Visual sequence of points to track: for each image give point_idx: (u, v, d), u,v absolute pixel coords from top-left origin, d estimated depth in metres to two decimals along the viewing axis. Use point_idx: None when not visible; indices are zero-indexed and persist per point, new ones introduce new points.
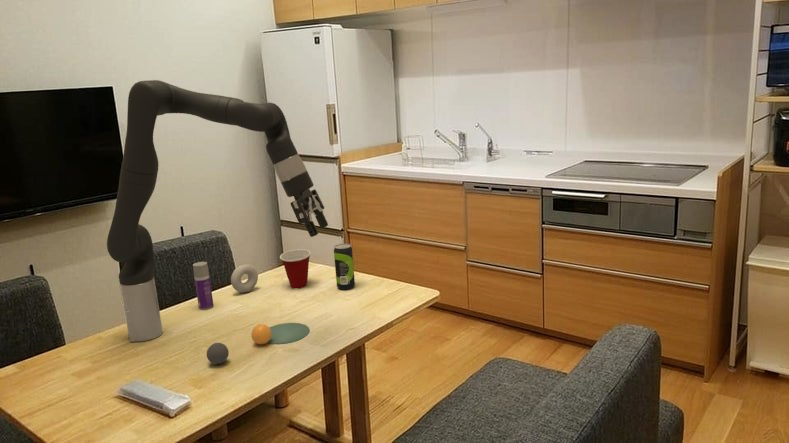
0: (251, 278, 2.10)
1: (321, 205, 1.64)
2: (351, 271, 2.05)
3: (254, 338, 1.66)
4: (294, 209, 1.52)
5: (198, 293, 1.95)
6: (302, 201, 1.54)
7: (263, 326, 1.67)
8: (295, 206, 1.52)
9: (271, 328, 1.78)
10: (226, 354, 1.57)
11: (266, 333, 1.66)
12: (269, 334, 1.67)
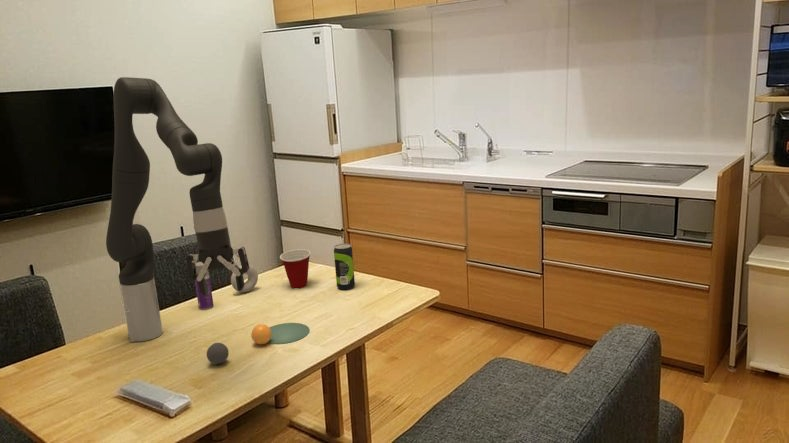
0: (251, 278, 2.10)
1: (241, 268, 1.45)
2: (351, 271, 2.05)
3: (254, 338, 1.66)
4: None
5: (198, 293, 1.95)
6: (199, 258, 1.45)
7: (263, 326, 1.67)
8: None
9: (271, 328, 1.78)
10: (226, 354, 1.57)
11: (266, 333, 1.66)
12: (269, 334, 1.67)
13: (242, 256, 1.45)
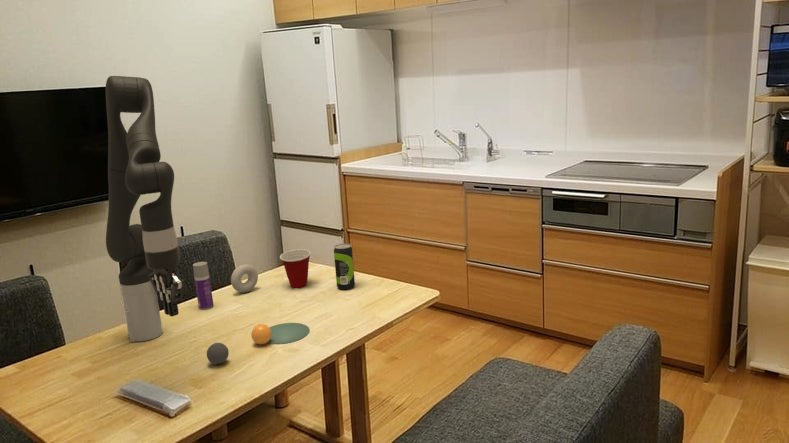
0: (251, 278, 2.10)
1: (170, 295, 1.43)
2: (351, 271, 2.05)
3: (254, 338, 1.66)
4: None
5: (198, 293, 1.95)
6: None
7: (263, 326, 1.67)
8: None
9: (271, 328, 1.78)
10: (226, 354, 1.57)
11: (266, 333, 1.66)
12: (269, 334, 1.67)
13: (173, 289, 1.42)
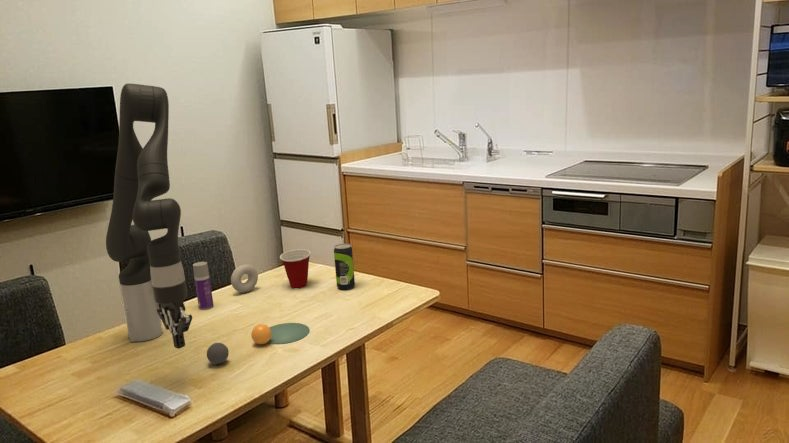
0: (251, 278, 2.10)
1: (177, 328, 1.46)
2: (351, 271, 2.05)
3: (254, 338, 1.66)
4: None
5: (198, 293, 1.95)
6: None
7: (263, 326, 1.67)
8: None
9: (271, 328, 1.78)
10: (226, 354, 1.57)
11: (266, 333, 1.66)
12: (269, 334, 1.67)
13: (181, 324, 1.44)
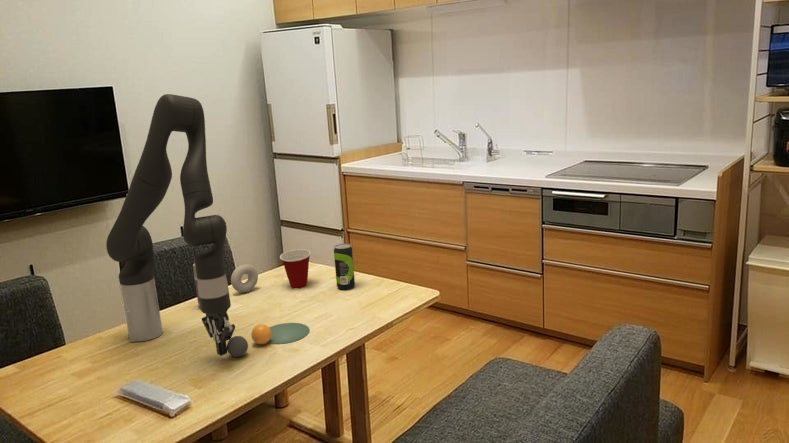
0: (251, 278, 2.10)
1: (220, 337, 1.56)
2: (351, 271, 2.05)
3: (254, 338, 1.66)
4: None
5: None
6: None
7: (263, 326, 1.67)
8: None
9: (271, 328, 1.78)
10: (242, 353, 1.60)
11: (266, 333, 1.66)
12: (269, 334, 1.67)
13: (224, 333, 1.54)
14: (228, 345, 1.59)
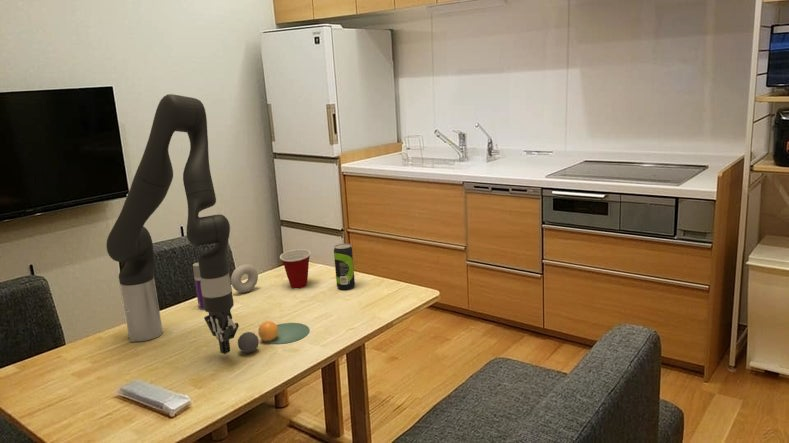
0: (251, 278, 2.10)
1: (224, 335, 1.57)
2: (351, 271, 2.05)
3: (263, 326, 1.68)
4: None
5: (198, 293, 1.95)
6: None
7: None
8: None
9: None
10: (249, 348, 1.61)
11: (275, 329, 1.68)
12: (276, 333, 1.69)
13: (228, 331, 1.55)
14: (247, 333, 1.62)
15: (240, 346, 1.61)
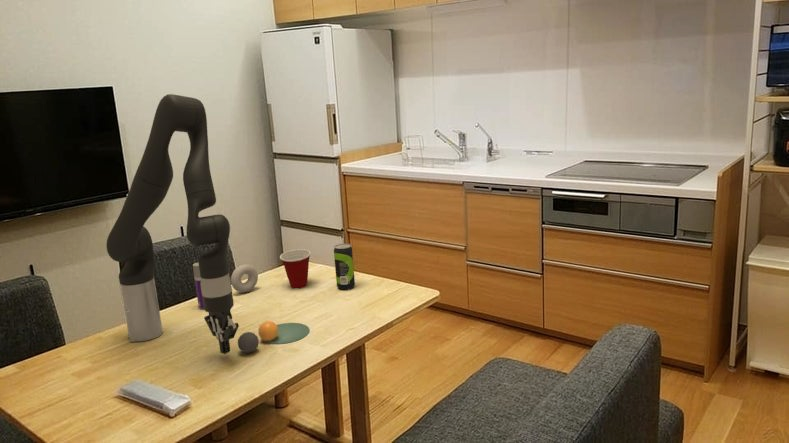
0: (251, 278, 2.10)
1: (224, 335, 1.57)
2: (351, 271, 2.05)
3: (263, 326, 1.68)
4: None
5: (198, 293, 1.95)
6: None
7: None
8: None
9: None
10: (249, 348, 1.61)
11: (275, 329, 1.68)
12: (276, 333, 1.69)
13: (228, 331, 1.55)
14: (247, 333, 1.62)
15: (240, 346, 1.61)
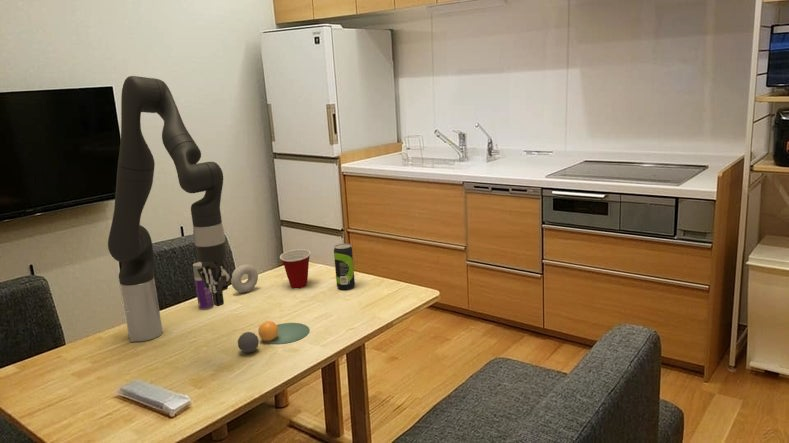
0: (251, 278, 2.10)
1: (217, 286, 1.54)
2: (351, 271, 2.05)
3: (263, 326, 1.68)
4: None
5: (198, 293, 1.95)
6: None
7: None
8: None
9: None
10: (249, 348, 1.61)
11: (275, 329, 1.68)
12: (276, 333, 1.69)
13: (221, 282, 1.52)
14: (247, 333, 1.62)
15: (240, 346, 1.61)
